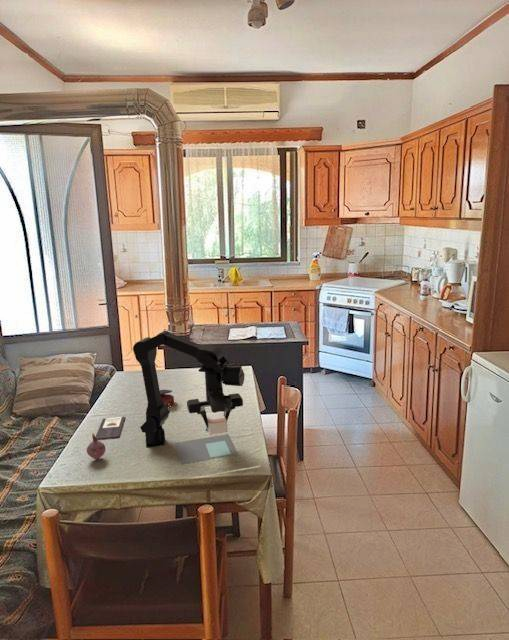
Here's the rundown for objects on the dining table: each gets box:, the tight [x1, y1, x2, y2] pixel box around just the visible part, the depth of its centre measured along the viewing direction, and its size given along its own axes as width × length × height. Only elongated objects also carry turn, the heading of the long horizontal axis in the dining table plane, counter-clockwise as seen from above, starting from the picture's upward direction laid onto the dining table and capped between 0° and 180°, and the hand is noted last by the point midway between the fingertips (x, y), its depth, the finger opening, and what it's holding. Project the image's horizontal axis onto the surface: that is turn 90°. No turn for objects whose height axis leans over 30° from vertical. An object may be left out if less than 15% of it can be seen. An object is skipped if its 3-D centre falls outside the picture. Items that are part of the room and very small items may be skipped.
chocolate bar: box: [95, 416, 126, 440], centre depth 186 cm, size 9×1×18 cm
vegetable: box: [86, 433, 107, 460], centre depth 161 cm, size 6×6×10 cm
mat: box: [174, 433, 239, 465], centre depth 166 cm, size 20×16×1 cm
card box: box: [206, 411, 228, 436], centre depth 163 cm, size 9×6×4 cm, turn 16°
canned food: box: [160, 389, 175, 408], centre depth 207 cm, size 11×10×10 cm
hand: (216, 425), depth 163 cm, fingers closed on card box, 6 cm apart
